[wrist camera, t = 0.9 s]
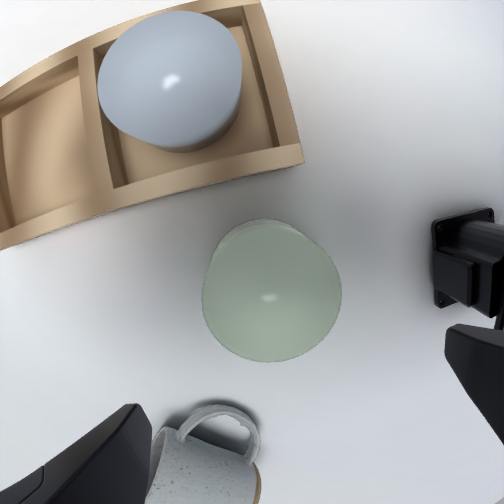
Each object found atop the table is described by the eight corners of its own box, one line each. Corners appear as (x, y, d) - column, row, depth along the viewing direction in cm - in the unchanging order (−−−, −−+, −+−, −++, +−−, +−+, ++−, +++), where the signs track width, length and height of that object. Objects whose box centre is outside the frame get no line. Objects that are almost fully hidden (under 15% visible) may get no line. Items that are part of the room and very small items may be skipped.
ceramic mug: (225, 484, 23) (225, 548, 15) (143, 457, 22) (125, 521, 14) (283, 417, 21) (301, 493, 14) (184, 380, 20) (166, 458, 13)
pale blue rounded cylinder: (228, 41, 15) (225, -3, 10) (251, 138, 16) (257, 118, 12) (125, 70, 15) (92, 38, 10) (142, 166, 16) (108, 159, 12)
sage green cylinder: (305, 208, 18) (330, 216, 13) (322, 307, 19) (347, 344, 14) (199, 232, 18) (184, 249, 13) (225, 329, 19) (222, 373, 14)
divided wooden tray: (253, 15, 15) (256, -10, 12) (293, 166, 17) (304, 162, 14) (-4, 113, 15) (-28, 108, 12) (15, 245, 17) (-10, 254, 14)
